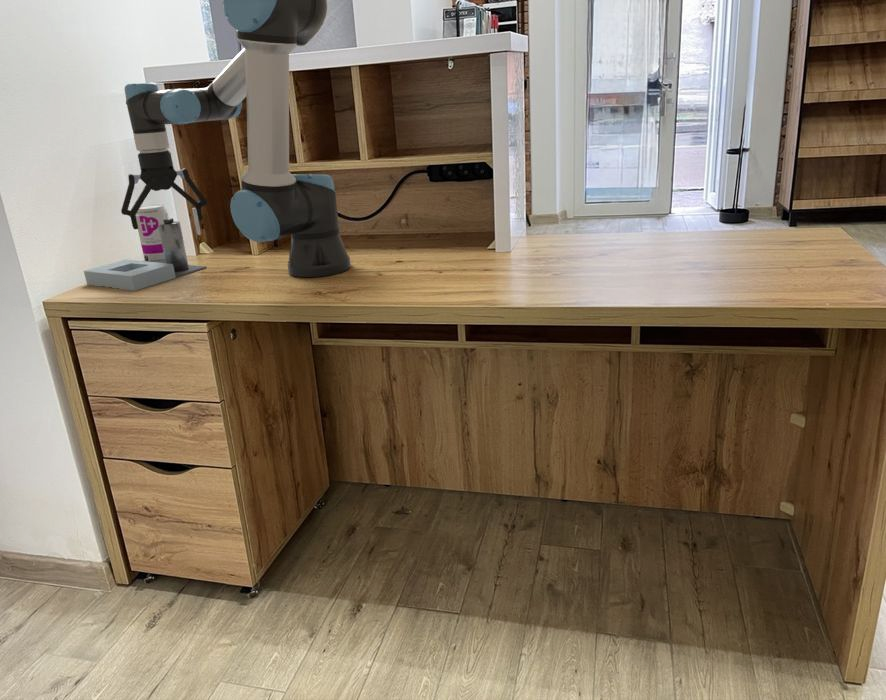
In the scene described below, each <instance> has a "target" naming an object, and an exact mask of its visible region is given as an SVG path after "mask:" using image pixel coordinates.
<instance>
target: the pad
mask: <svg viewBox="0 0 886 700" xmlns="http://www.w3.org/2000/svg"><path fill="white" fill-rule="evenodd" d="M188 267H189V269H188V270H185V271H181V272H175V277H176V278H180V277H182V276H186V275H188V274H192V273H195V272H198V271H202V270H204V269H205V270H206V269H207V266H206V265H205V266H203V265H195V264H194V265H193V264H188ZM176 278H175V279H176Z"/></svg>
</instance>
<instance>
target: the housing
mask: <svg viewBox="0 0 886 700" xmlns="http://www.w3.org/2000/svg"><path fill="white" fill-rule="evenodd" d="M83 274H84V277H85V282H86V285H87V286H93V285H94V287H101V286H105V287H104V288H109V287H112V288H111V289H117V288H119V290H127V291H134V292H135V291H139V290H141V289H145V288H148V287H151V286H154V285H158V284H161V283H163V282H167V281H171V280H173V279H176V277H175V272H174V267H173V264H167V263H157V262H146V261H145V260H144V261H143V260H134V259H124V260H119V261H115V262H112V263H108V264H104V265H100V266H98V267H94V268H89V269H86V270H83Z"/></svg>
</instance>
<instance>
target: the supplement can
mask: <svg viewBox="0 0 886 700" xmlns="http://www.w3.org/2000/svg"><path fill="white" fill-rule="evenodd" d="M168 213H169V212H168V210H167V209H166V207H165V206H164V204H150V205H141V206H140V208H139V210H138V211H137V213H136V215H139V218H140V223H141V228H142V232H143V237H144V241H145V242H144V243H141V239H140V235H139V234H138V236H139V241H140V246H141V250H142V254H143V255H142V256H143V259H144V261H146V262H157V263H166V261H165V256H164V251H163V247H162V242H161V237H160V232H159V227H158V224H160V223H164V222H163V220H164V219H170V217H169V214H168ZM137 231H138V233H139V230H138V229H137Z"/></svg>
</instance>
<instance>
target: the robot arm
mask: <svg viewBox="0 0 886 700" xmlns="http://www.w3.org/2000/svg"><path fill="white" fill-rule="evenodd" d="M222 9H223V13H224V16H225V17H227V22H228V23H229V25H230V26H232V27H233V29H235V30H236V40H237V41H238V42H239V44H240V45H241V46H242V47H243V48H242V49H241V51H239V53H237V54H236V56H235V57H234V58H233V59H232V60H231V61H230V62H229V63H228V65H227V66H226V67H225V68H224V69H223V70H222V71H221V72H220V74H218V76H217V77H216V78H215V79H214V80H213V81H212V82H211V83H210V84H208V86H207V87H200V88H199V87H198V88H197V87H195V88H171V89H163V90H159V87H158V84H157V83H156V82H137V83H127V84H126V85H125V86H124V95H125V104H126V108H127V111H128V116H129V121H130V125H131V129H132V133H133V138H134V139H133V140H134V143H135V149H136V151H137V152H138V154H137V157H138V163H139V167H140V174H132V173H129V174H128V178H127V179H128V185H127V189H126V193H125V196H124V200H123V202H122V207H121V212H120V213H121V214H122V215H123V216H128V217H130V220H131V226H132V228H133V230H137V231H138V230H139V232H138V236H139V235H140V237H139V240H140V239H141V241H140V244H141V243H144V242H145V241H144V237H143V232H142V228H141V223H140V218H139V215H136V213H137V211H138V210H139V208H140V207H142V206H143V203H144V202H145V200H146V199H147V197H148V194H150V192H151V190H152V191H155V192H158V191H161V190H164V191H168V190H170V189H171V188H172V189H174V190H175V191H176V192H177V193H178V194H180V195H181V196H182V197H183V198H184V199H185V200H186V201H188V202H189V203H190V204H191V205H193V207H192V208H191V209H192V215H193V221H194V225H195V232H196V235H198V236H201V235H202V233H201V227H200V222H202V221H203V218H204V217H203V213H202V207H204V206H207V204H208V200H207V199H206V198H205V197H204V195H203V194H202V192H201V191H200V190H199V188H198V187H197V185H196V184H195V183H194V181H193V180H192V179H191V177H190V174H189V173H190V172H189V171H188V169H186V168H185V167H184V168H182V169H178V170H175V168H174V167H175V166H174V163H173V159H172V152H171V151H170V150H168V149H169V148H170V143H169V138H168V133H167V128H166V125H187V124H191V123H201V122H211V121H214V122H215V121H227V120H230V119H235V118H236V117H238V116H239V115H240V114H241V111H242V108H243V101H244V99H246V130H247V132H246V135H247V139H246V140H247V170H246V171H245V172H244V173H243V174H242V175H241V176H240V180H241V182H240V183H241V185H240V186H241V187H240V188H241V189H239V190H237V191H236V192H235V193H234V195H233V196H232V197H231V200H230V204H229V205H230V206H229V207H230V214H231V217H232V220H233V222H234V224H235V226H236V228H238V230H239V232H240V233H241V234H242V235H243V236H244V237H245V238H247V239H248V240H250V241H252V242H255V243H263V242H272V241H276V240H278V239H281V238H285V237H287V236H290V238H291V240H290V241H291V243H290V249H289V256H288V261H287V270H288V274H289V275H290V276H293V277H298V278H316V277H317V278H318V277H319V278H320V277H325V276H326V277H327V276H332V275H336V274H337V275H338V274H340V273H343V272H345V271H348V270H349V269H351V266H352V265H351V259H350V255H349V254H348V252H347V249H346V248H345V245H344V242H343V240H342V237H341V233H340V224H339V216H338V215H339V214H338V213H339V212H338V206H337V205H338V204H337V197H336V193H337V192H336V189H335V184H334V183H335V182H334V180H333V177H332V176H331V175H329V174H325V173H323V174H316V173H315V174H314V173H313V174H311V173H309V174H307V173H301V174H300V173H297V174H295V173H294V174H292V173H291V172H290V53H291V52H293V50H295V48H296V47H305V45H307V44H308V42H310V41H311V40H312V39H313V38H314V36H316V34H317V33H318V32H319V31H320V29H322V26H323V25H324V23H325V20H326V17H327V13H328V1H327V0H222ZM178 176H179V177H180V178H181V179H183V180H184V181H185V182H186V183H187V185H188V187H189V188H191V189H190V190H192V192H193V193H194V194H195V196H196V197H197V198H198V200H199V201H197V200H196V199H194V198H193V197H192V196H190V195H189V193H187V192H186V191H185V190H184V189H183V188H181V186H179V185H178V184H177V183H176V182H175V181H176V178H177V177H178ZM139 180H141V181H142V182H143V183H144V184H145V185H144V187H143V188H142V191H141V193H139V196H138V197H137V200H136V201H135V202H134V204H133V206H132V207H131V208H130V204H131V200H132V197H133V196H132V195H133V192H134V191H135V190H134V189H135V184H138V182H139ZM129 208H130V209H129Z"/></svg>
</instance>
